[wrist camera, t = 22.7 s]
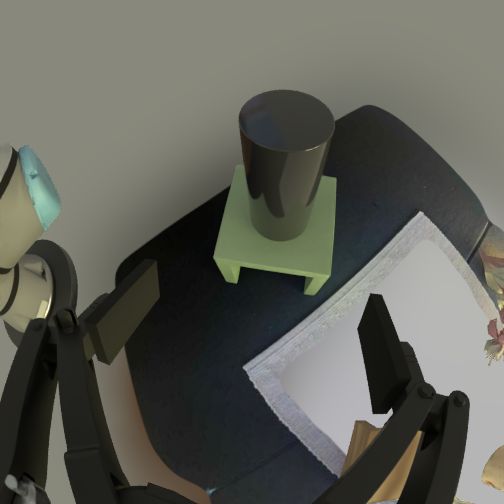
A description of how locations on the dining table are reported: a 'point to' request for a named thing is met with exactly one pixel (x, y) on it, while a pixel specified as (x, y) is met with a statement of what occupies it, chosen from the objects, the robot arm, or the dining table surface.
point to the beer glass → (460, 501)
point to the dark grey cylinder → (284, 159)
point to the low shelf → (399, 475)
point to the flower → (499, 279)
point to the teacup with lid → (495, 470)
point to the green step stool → (274, 252)
